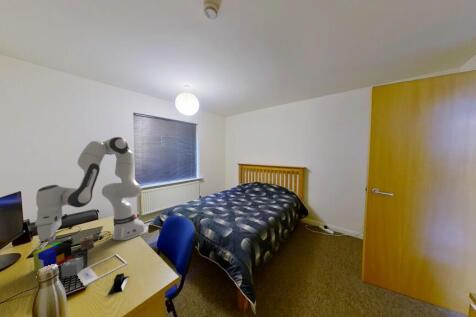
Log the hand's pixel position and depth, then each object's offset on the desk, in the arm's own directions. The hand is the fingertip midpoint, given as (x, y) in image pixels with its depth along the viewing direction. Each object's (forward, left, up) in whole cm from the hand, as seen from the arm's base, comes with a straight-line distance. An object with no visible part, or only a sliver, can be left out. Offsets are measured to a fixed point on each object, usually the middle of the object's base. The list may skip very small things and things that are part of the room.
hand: (52, 240), depth 89 cm
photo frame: (-22, +19, -15) cm, 33 cm away
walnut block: (-12, -12, -14) cm, 22 cm away
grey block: (-10, +14, -14) cm, 22 cm away
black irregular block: (-29, +37, -15) cm, 50 cm away
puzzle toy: (0, 0, -14) cm, 14 cm away
